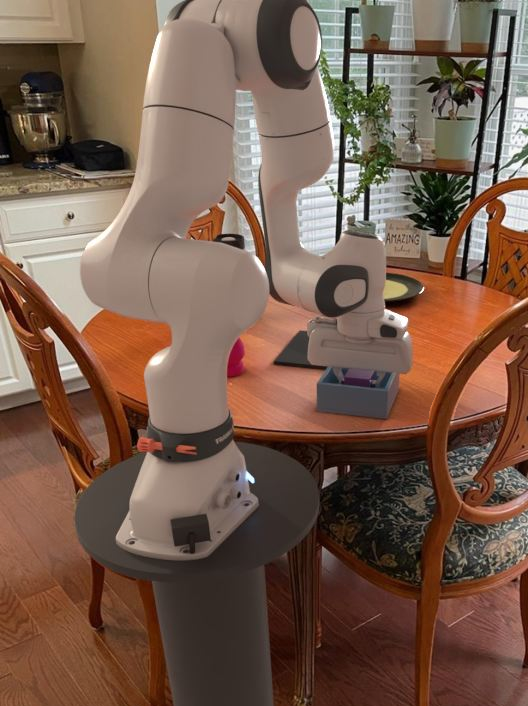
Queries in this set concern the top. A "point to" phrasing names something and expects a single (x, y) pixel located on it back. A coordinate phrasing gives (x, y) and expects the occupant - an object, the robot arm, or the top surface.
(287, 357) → the plate
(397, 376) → the basket
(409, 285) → the plate
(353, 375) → the block
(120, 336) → the top surface
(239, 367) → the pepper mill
